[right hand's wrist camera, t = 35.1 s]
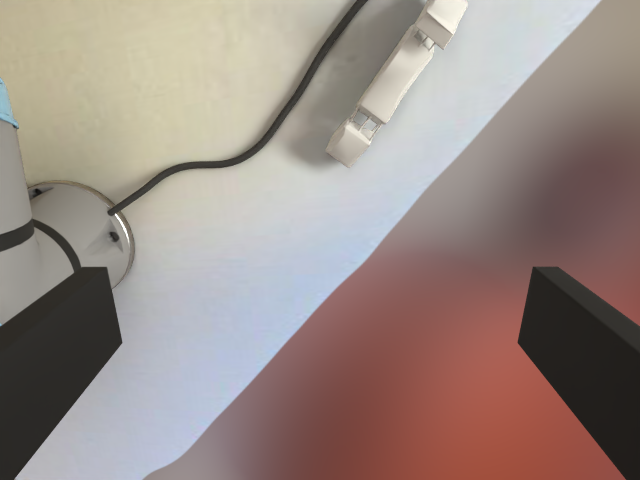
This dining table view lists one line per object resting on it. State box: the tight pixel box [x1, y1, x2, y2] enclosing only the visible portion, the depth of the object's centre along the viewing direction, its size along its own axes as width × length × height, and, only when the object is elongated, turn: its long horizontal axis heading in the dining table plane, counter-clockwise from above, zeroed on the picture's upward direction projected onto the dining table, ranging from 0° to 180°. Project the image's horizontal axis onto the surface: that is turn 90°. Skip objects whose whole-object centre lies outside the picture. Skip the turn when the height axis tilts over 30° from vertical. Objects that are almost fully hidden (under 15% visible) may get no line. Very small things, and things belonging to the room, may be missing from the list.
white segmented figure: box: [325, 0, 468, 168], centre depth 41 cm, size 20×4×7 cm, turn 145°
